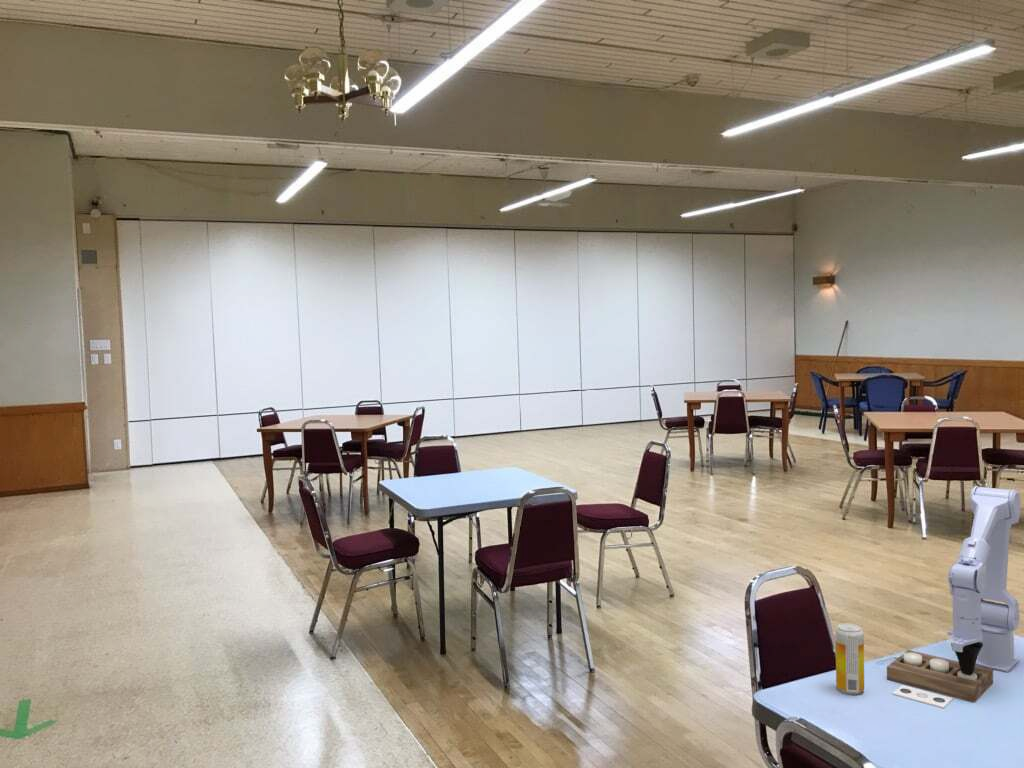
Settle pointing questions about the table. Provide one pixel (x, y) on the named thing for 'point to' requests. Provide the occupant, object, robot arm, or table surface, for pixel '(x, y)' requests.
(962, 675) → the right button
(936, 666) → the middle button
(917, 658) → the left button
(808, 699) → the table surface
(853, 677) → the beer can
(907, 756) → the table surface
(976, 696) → the button panel
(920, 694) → the card
